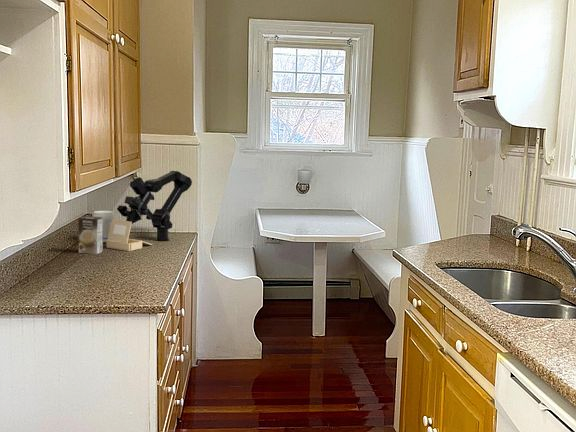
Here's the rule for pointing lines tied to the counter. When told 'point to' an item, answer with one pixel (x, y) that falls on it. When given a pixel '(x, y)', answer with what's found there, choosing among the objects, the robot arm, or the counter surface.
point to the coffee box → (90, 235)
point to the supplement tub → (105, 222)
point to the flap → (119, 230)
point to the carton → (126, 245)
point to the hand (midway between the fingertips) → (126, 226)
